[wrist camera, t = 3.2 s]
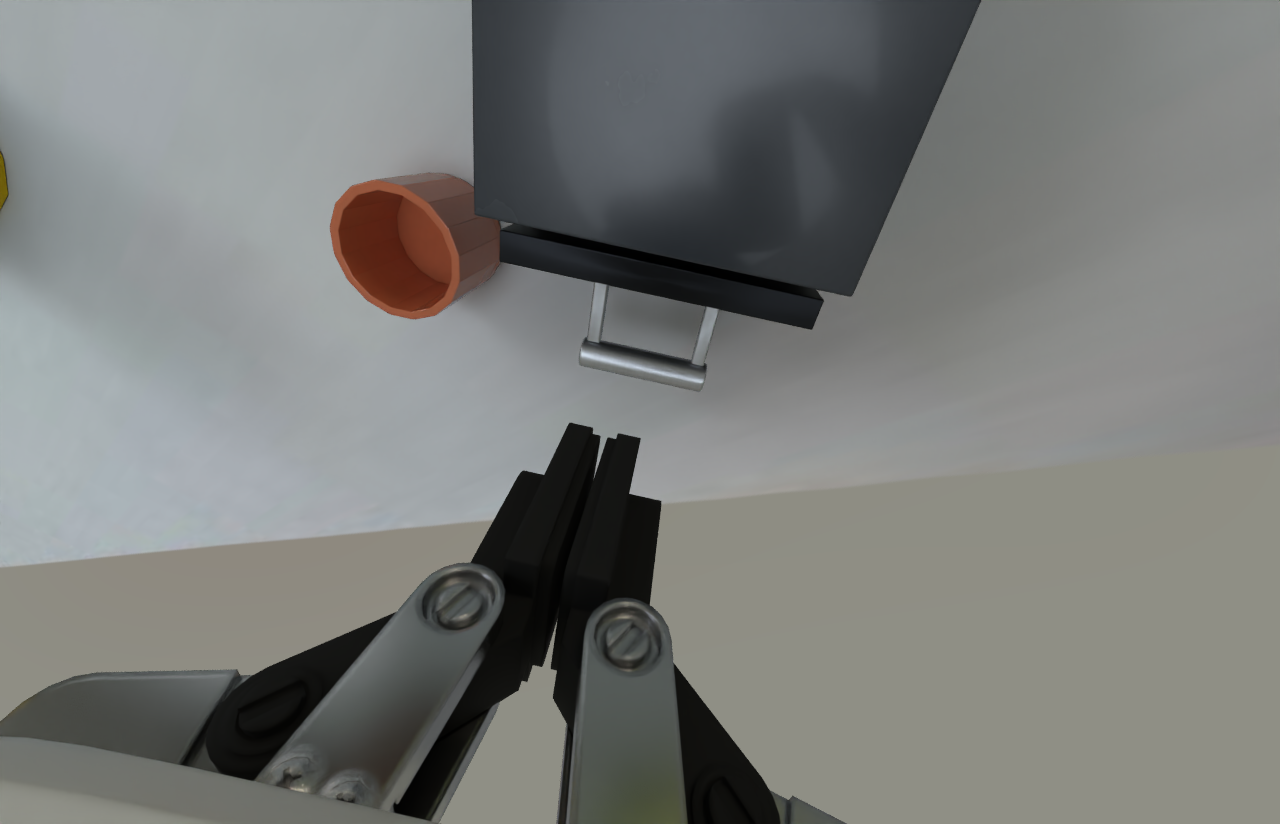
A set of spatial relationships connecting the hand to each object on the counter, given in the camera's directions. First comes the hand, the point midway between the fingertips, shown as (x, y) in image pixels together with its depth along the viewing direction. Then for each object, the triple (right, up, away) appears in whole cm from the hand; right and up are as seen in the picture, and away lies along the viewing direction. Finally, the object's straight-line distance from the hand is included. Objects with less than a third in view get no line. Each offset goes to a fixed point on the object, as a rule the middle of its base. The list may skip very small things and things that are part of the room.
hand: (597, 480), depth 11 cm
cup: (-9, +11, +14) cm, 21 cm away
